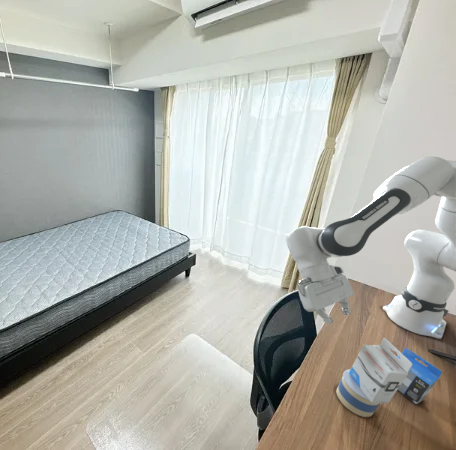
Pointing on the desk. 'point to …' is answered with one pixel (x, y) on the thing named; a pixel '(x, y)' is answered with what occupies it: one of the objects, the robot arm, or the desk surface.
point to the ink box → (380, 371)
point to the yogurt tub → (354, 397)
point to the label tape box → (418, 378)
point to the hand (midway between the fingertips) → (338, 318)
